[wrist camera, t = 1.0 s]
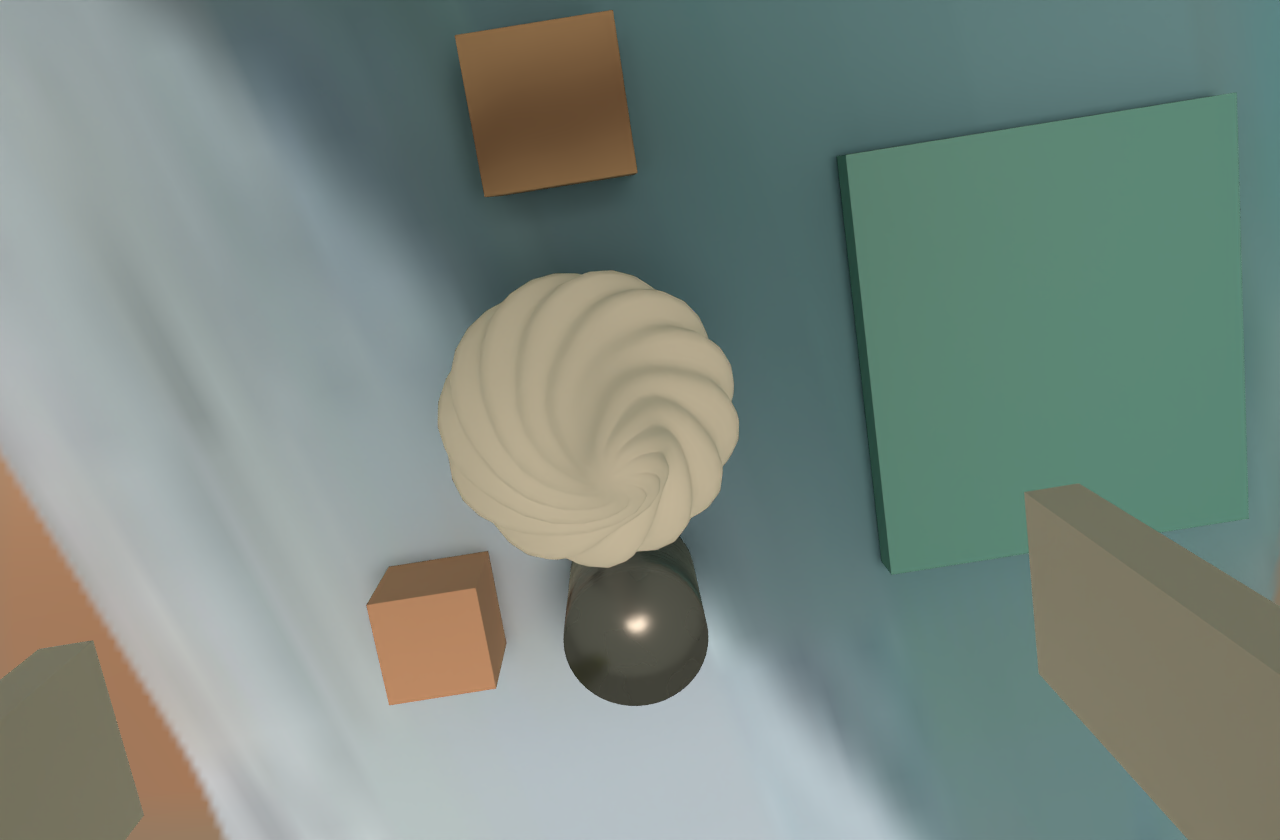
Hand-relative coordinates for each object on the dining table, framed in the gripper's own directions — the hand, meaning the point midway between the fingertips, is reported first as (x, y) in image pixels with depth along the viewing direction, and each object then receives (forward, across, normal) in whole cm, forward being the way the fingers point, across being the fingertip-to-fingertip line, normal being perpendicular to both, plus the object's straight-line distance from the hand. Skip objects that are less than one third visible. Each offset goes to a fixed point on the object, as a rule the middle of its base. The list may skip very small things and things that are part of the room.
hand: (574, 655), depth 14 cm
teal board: (+26, +17, -2) cm, 31 cm away
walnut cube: (+26, 0, +9) cm, 27 cm away
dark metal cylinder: (+26, 0, -9) cm, 27 cm away
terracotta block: (+26, -8, -9) cm, 28 cm away
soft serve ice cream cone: (+26, 0, 0) cm, 26 cm away
